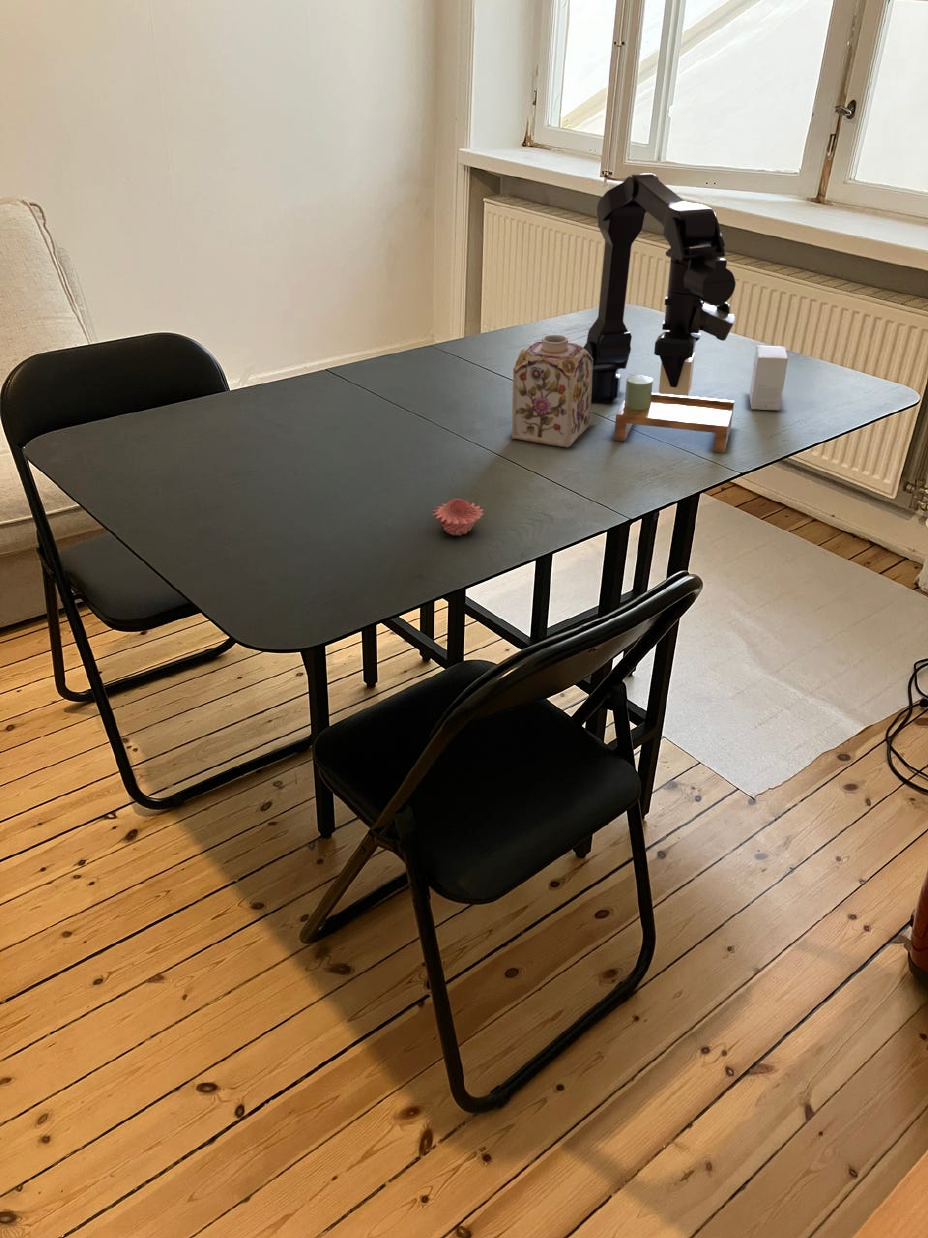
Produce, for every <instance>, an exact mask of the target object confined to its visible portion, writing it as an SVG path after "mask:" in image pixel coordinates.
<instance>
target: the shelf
mask: <svg viewBox="0 0 928 1238" xmlns="http://www.w3.org/2000/svg"><path fill="white" fill-rule="evenodd" d="M734 407H735V400H732V399H731V400H729V399H720V398H710V397H699V396H689V395H688V396H678V395H668V394H659V392H652V397H651V407H650V408H649V409H646V410H632V409H629V408H627V407H625V398H624V399H623V401H622V403H621V405H620V407H619V408H618V410H617V412H616V414H615V421H614V422H615V423H614V435H613V440H614V441H619V442H625V441H626V440H627V438H628V435H629V433H630V431H631V429H632V427H633V425H638V426H647V427H654V428H655V427H656V428H667V429H675V430H685V431H693V432H703V433H713V434H714V440H713V447H712V452H715V453H725V452H726V447H727V444H728V441H729V437H730V433H731V429H732V422H733V414H734Z"/></svg>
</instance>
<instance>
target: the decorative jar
mask: <svg viewBox="0 0 928 1238" xmlns="http://www.w3.org/2000/svg"><path fill="white" fill-rule="evenodd" d="M583 347H584V346H582V345H580V344H578V343H576V342H569V338H568V337H567V336H565V335H563V334H549V335H545V336H544V337H542V339H541V341H537V342H531V343H529V344H527V345H526V346H525V347H523V348H522V349H521V351H520V353H519V355H518V358H517V359H516V361H515V365H514V366H513V368H512V376H513V377H512V405H511V406H512V408H511V412H512V413H511V418H512V419H511V420H512V421H511V422H512V423H511V425H512V427H511V432H512V439H514V440H520V441H525V442H531V443H538V444H543V445H549V446H555V447H560V448H561V447H562V448H570V447H571V446H572V445H573V444H574V443H575V442H576V440H578V438H579V437H580V436H581V435H582V434H583V433H584V432H585V431H586V430H587V429H588V428H589V426H590V422H591V409H592V402H591V394H592V371H593V361H594V360H593V359H592V357H591V355H590V354H589V353H588V352H587V350H585V349H584V348H583Z"/></svg>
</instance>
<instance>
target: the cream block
mask: <svg viewBox="0 0 928 1238" xmlns="http://www.w3.org/2000/svg"><path fill="white" fill-rule="evenodd" d="M695 358H696V353H695V352H694V354H693V357H691V358H687V359H686V360H685V362H684V365H683V368H682V372H681V375H680V378H679V382H678V385H677V387H671V386H670V384H669V381H668V378H667V375H666V372H665V369H664V367H663V364H662V362H661V364H660V373H659V385H658V393H659V394H668V395H678V396H689V394H690V391H691V388H692V383H693V375H694V366H695V365H694V364H695Z"/></svg>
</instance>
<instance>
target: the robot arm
mask: <svg viewBox="0 0 928 1238" xmlns="http://www.w3.org/2000/svg"><path fill="white" fill-rule="evenodd" d="M596 214H597V215H596V216H597V226H598V229H599V231H600V233H601V235H602V238H603V239H604V251H603V262H602V273H601V282H600V293H599V303H598V304H599V305H598V315H597V318H596V320H595V321H594V322H593V324H592V325H591V327H590V328H589V329H588V332H587V338H586V343H585V344H584V346H582V347H583V348H584V349H585V350H587V352H588V353H589V354H590V355H591V357H592V359H593V360H594V361H593V371H592V394H591V403H602V404H614V403H615V401H616V399H617V398H618V397H619V395H620V393H621V392H620V390H621V377H622V374H620V373H619V370H625V369H627V365H628V362H629V359H630V358H629V357H630V354H631V350H632V347H631V342H632V338H633V337H632V333H631V332H630V331H629V330H628V328H627V326H626V324H625V323H624V318H625V309H626V299H627V290H628V281H629V272H630V264H631V256H632V254H631V253H632V246H633V244H634V242H635V241H636V240H637V237H638V236H639V235H640V233H641V232H642V231H643V228H644V222H645V217H646V216H647V215H648V214H649V215H650V216H652V217H653V218H654V219H655V220H656V221H657V222H659V223H660V224H661V225H662V226H663V230H662V231H663V232H662V236H663V238H665V240H666V242H668V245H669V248H668V249H667V250H666V251H665V256H666V257H667V258H670V262H669V271H668V280H667V281H668V283H667V293H666V296H665V298H664V306H665V314H664V320H663V323H662V331H663V332H662V333H661V334H660V335H658V337H657V338H656V340H655V342H654V350H653V355H655V356H659V359H660V361H661V363H662V364H663V367H664V369H665V372H666V375H667V378H668V381H669V384H670V386H671V387H677V385H678V382H679V378H680V375H681V372H682V368H683V365H684V362H685V360H686V359H687V358H691V357H693V354H694V353H695V352H696V343H697V342H698V341H699V340H701V339H700V338H701V336H702V333H701V332H700V331H702V332H704V333H707V334H709V335H711V336H713V337H715V338H716V339H717V340H719V341H723V342H725V341H726V340H727V338H728V336H729V334H730V331H731V329H732V328H733V326H734V324H735V321H736V317H735V314H733V313H731V304H730V303H729V302H728V300H730V299H731V297H732V296H733V294H734V293H735V288H736V285H737V284H736V279H735V275H734V273H733V272H732V271H731V270H730V269H728V268H727V264H728V262H727V259H725V258H723V257H725V256H726V251H725V246H726V243H725V240H724V238H723V236H722V231H721V229H720V224H719V220H718V218H717V215H716V213H715V211H714V210H713V209H712V208H711V207H709V206H707V205H704V204H701V203H694V202H688V201H685V200H684V199H683V198H682V197H680V196H679V195H678V194H676V193H675V192H674V191H673V190H672V189H670V188H669V187H668V186H667V185H666V184H664V183H663V182H662V181H660V179H659V177H658V175H657V174H653V173H652V172H651V173H650V172H649V173H636V174H635V173H633V174H631V175H629V176H627V177H626V178H625V179H624V181H623V182H621V183H619V184H617V185H616V186H613V187H612V188H610V189H609V190H607V191H605V193H604V194H603V196H601V197H600V198H599V200H598V202H597V205H596Z"/></svg>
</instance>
